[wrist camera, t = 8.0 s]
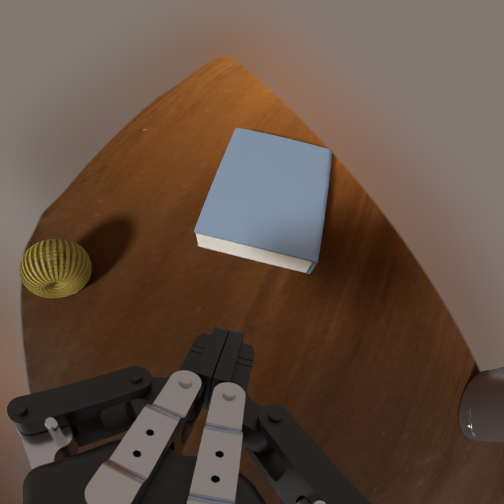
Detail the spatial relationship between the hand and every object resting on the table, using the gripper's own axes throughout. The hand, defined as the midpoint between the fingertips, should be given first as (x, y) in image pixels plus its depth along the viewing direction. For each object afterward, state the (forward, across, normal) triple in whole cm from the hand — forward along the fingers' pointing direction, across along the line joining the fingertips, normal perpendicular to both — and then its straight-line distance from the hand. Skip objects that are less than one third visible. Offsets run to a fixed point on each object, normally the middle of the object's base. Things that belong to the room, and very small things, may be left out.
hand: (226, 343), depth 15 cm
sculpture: (+11, +19, +8) cm, 23 cm away
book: (+15, 0, +1) cm, 15 cm away
